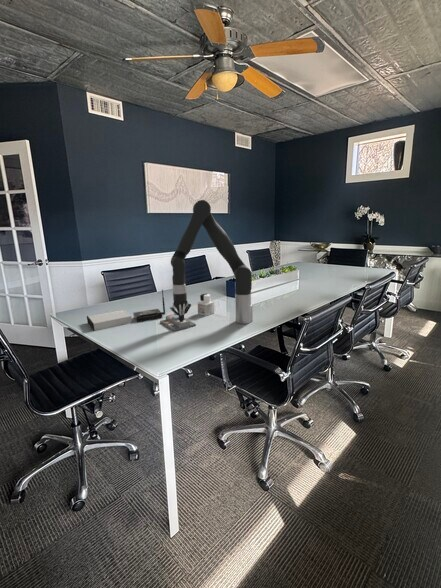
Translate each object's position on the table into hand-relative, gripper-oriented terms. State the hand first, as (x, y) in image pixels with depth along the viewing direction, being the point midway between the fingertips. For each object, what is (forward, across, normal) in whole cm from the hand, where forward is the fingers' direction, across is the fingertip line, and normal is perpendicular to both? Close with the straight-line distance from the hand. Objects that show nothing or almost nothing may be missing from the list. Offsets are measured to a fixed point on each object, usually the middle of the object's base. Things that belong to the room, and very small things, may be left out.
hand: (181, 321), depth 169 cm
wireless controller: (+4, +7, -29) cm, 30 cm away
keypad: (+4, 0, -6) cm, 7 cm away
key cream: (+2, 0, 0) cm, 2 cm away
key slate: (+1, 0, -6) cm, 6 cm away
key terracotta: (+2, 0, -12) cm, 12 cm away
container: (+4, -24, -13) cm, 28 cm away
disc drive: (+4, +32, -36) cm, 48 cm away
